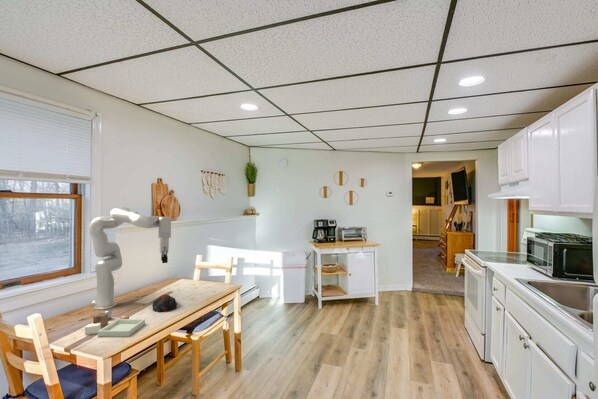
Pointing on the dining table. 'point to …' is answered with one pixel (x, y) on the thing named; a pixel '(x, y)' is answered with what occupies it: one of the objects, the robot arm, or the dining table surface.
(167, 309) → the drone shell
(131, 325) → the tray
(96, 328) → the cream block
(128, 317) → the peach rounded capsule
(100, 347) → the dining table surface
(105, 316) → the walnut block
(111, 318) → the grey cylinder
